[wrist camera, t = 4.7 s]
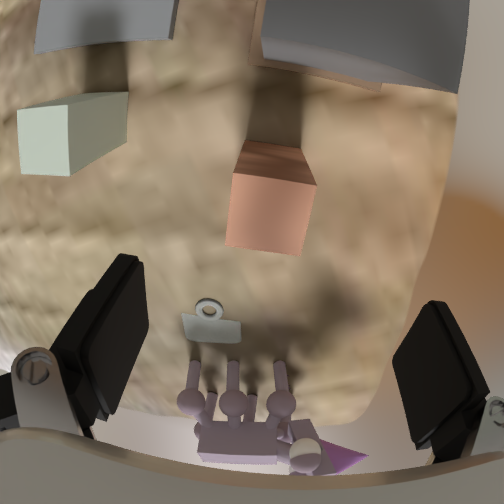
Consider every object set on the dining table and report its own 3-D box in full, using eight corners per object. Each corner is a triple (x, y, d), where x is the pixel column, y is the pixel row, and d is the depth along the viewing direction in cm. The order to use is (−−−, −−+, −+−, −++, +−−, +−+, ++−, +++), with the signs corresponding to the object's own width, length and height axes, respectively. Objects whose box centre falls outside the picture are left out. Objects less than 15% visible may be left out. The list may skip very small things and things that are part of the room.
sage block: (83, 141, 21) (21, 173, 14) (84, 93, 19) (17, 109, 12) (126, 142, 21) (70, 176, 15) (128, 91, 19) (67, 104, 12)
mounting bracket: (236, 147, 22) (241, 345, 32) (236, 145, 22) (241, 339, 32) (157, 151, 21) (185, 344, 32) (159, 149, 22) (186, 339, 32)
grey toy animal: (363, 347, 32) (385, 461, 21) (347, 394, 38) (358, 485, 27) (183, 351, 33) (159, 463, 22) (201, 396, 39) (187, 487, 28)
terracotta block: (238, 191, 23) (225, 245, 16) (245, 140, 21) (233, 172, 14) (290, 199, 23) (300, 256, 17) (300, 148, 21) (317, 185, 14)
